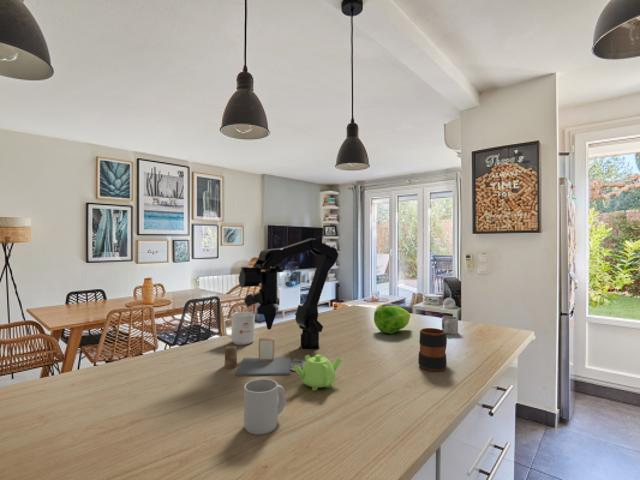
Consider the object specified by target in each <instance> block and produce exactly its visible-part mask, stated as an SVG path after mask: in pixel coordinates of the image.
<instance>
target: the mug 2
mask: <svg viewBox="0 0 640 480" xmlns="http://www.w3.org/2000/svg"><path fill="white" fill-rule="evenodd" d="M447 338H448V337H447V334H445V332H444V331H443V330H442V329H440V328H435V327H434V328H433V327H425V328H421V329H420V330H419V342H418V343H419V351H418V361H417V363H418V365H419V367H420V368H421V369H423V370H425V371H429V372H443V371H444V370H445V369H446V368H447V365H448V364H447V363H448V362H447V353H446V352H447V351H446V349H447V343H448V339H447Z"/></svg>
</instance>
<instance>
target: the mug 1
mask: <svg viewBox="0 0 640 480" xmlns="http://www.w3.org/2000/svg"><path fill="white" fill-rule="evenodd" d="M255 320H256V319H255V312H251V311H239V312H238V311H237V312H234V313H232V314H231V318H226V319H224V320H223V332H224V334H225V336H227V337H228V338H230V339H231V342H232V343H233V344H234V345H236V346H237V345H239V346H245V345H249V344H252V343H253V342H254V341H255V323H256V322H255ZM228 321H231V335H229V334H228V333H227V326H226V325H227V322H228Z"/></svg>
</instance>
